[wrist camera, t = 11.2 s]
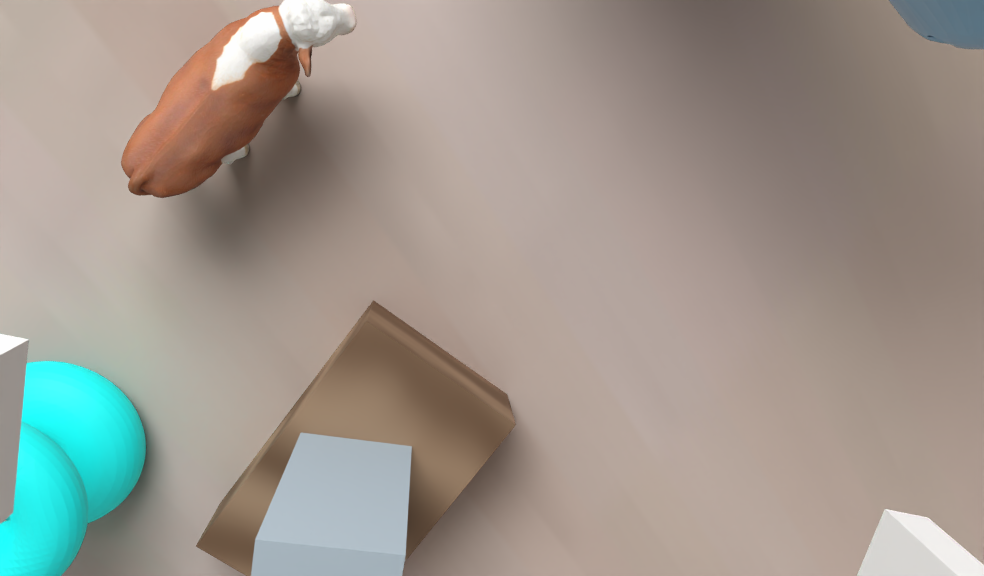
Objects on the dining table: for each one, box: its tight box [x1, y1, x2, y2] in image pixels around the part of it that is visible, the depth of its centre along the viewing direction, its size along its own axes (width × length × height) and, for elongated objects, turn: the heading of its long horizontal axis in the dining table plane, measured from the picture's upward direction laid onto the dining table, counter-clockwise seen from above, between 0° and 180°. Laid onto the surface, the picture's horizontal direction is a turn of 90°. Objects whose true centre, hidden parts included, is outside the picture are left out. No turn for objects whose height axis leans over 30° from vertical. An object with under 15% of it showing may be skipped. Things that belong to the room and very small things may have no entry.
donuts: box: [0, 361, 146, 576], centre depth 36 cm, size 10×10×10 cm
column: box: [251, 433, 412, 576], centre depth 33 cm, size 6×6×10 cm
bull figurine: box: [121, 0, 356, 198], centre depth 34 cm, size 4×13×8 cm, turn 130°
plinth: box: [196, 300, 516, 576], centre depth 41 cm, size 16×10×5 cm, turn 142°
